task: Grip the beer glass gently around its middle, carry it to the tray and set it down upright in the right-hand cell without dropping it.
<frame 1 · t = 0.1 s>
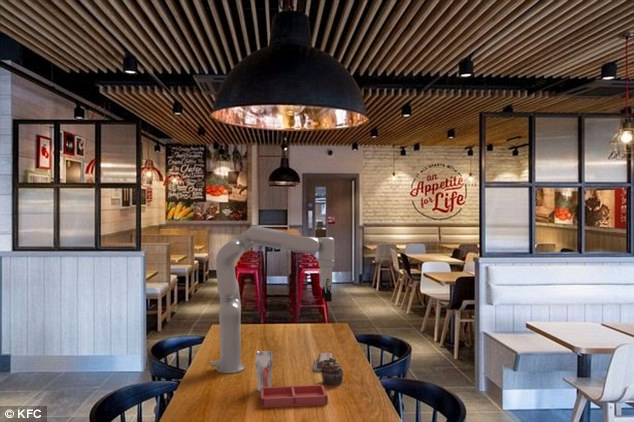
hand: (326, 299, 247), 31 cm above the table, tool pointing down, fingers open, 9 cm apart
tray: (293, 399, 203), on the table
cupcake: (332, 383, 223), on the table
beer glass: (264, 390, 215), on the table
packaged product: (325, 367, 247), on the table
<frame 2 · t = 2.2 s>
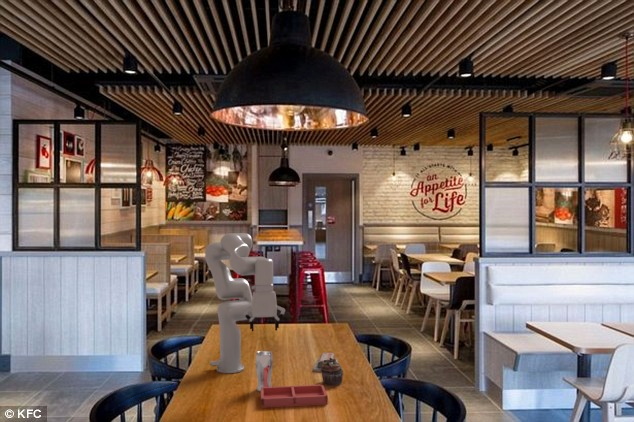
hand: (264, 330, 215), 24 cm above the table, tool pointing down, fingers open, 9 cm apart
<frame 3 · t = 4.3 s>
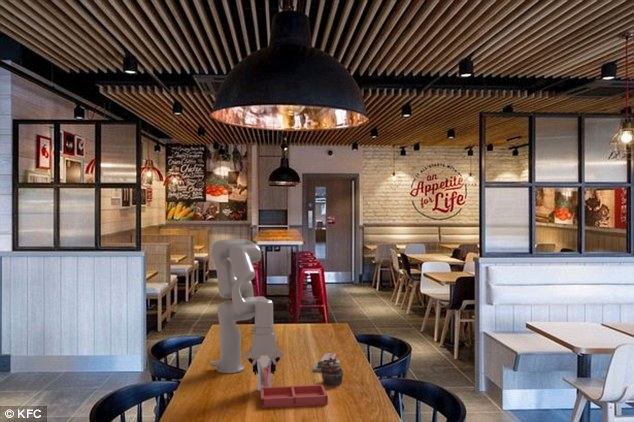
hand: (264, 373, 215), 7 cm above the table, tool pointing down, fingers closed on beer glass, 6 cm apart
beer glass: (264, 390, 215), on the table, touching gripper
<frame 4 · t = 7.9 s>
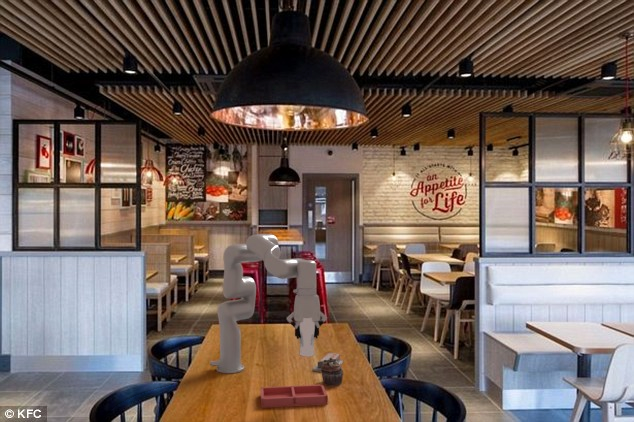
hand: (307, 337, 204), 24 cm above the table, tool pointing down, fingers closed on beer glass, 6 cm apart
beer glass: (307, 355, 204), point 17 cm above the table, touching gripper
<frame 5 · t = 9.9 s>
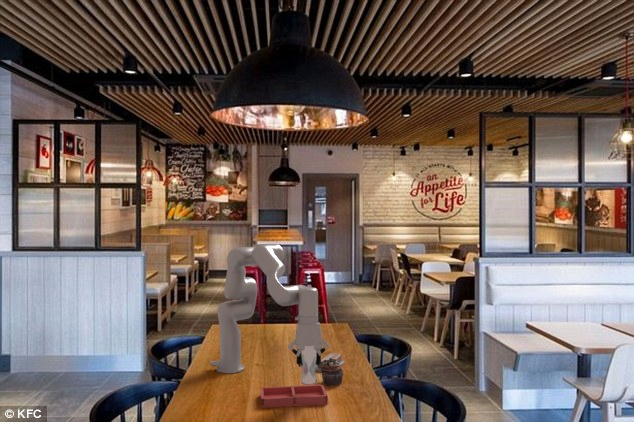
hand: (308, 365, 204), 13 cm above the table, tool pointing down, fingers closed on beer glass, 6 cm apart
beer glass: (308, 382, 204), point 6 cm above the table, touching gripper
when the fingers open (8 cm above the table, at t = 11.4 s): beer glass stays where it is, resting on tray.
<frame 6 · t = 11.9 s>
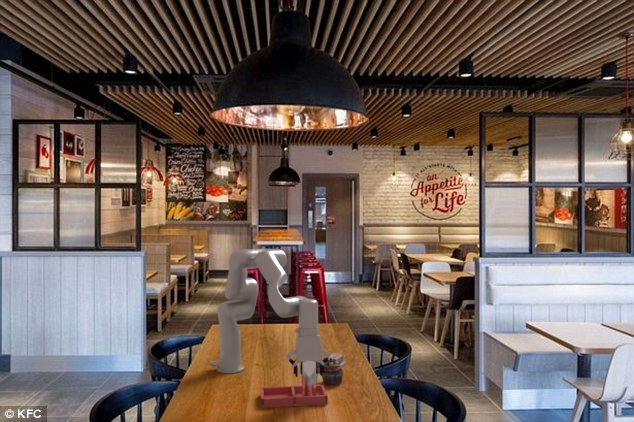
hand: (308, 375, 204), 9 cm above the table, tool pointing down, fingers open, 9 cm apart
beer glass: (308, 397, 204), point 1 cm above the table, touching tray
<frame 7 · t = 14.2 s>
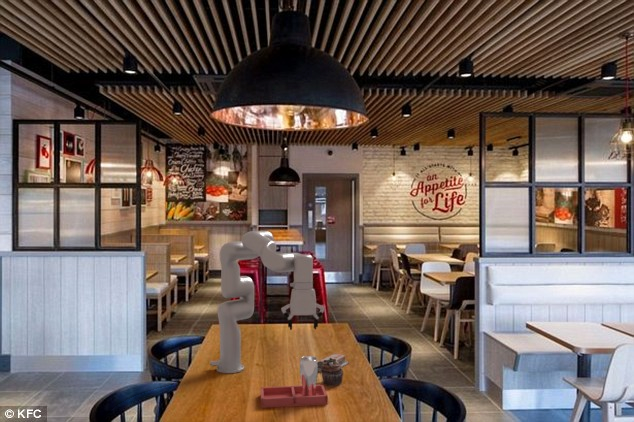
hand: (302, 328, 208), 26 cm above the table, tool pointing down, fingers open, 9 cm apart
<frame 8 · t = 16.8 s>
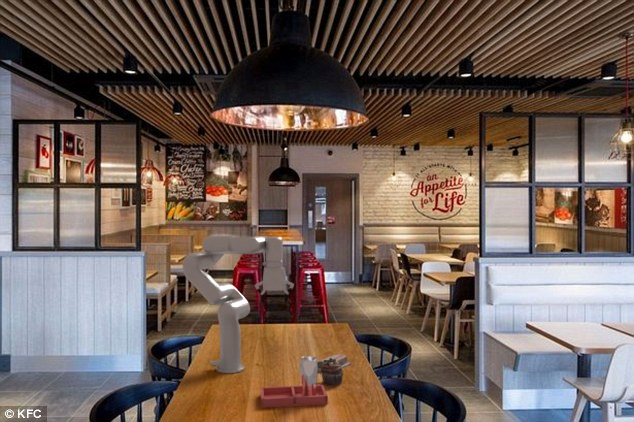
hand: (274, 303, 232), 32 cm above the table, tool pointing down, fingers open, 9 cm apart
at the end: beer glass 0.2 cm from the target spot on the tray, point 0.6 cm above the tray's base; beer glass tilted 0°; the gripper is holding nothing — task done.
